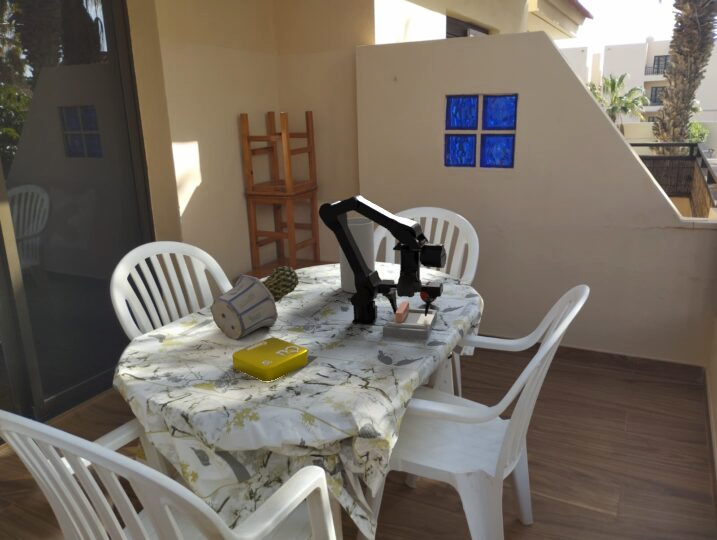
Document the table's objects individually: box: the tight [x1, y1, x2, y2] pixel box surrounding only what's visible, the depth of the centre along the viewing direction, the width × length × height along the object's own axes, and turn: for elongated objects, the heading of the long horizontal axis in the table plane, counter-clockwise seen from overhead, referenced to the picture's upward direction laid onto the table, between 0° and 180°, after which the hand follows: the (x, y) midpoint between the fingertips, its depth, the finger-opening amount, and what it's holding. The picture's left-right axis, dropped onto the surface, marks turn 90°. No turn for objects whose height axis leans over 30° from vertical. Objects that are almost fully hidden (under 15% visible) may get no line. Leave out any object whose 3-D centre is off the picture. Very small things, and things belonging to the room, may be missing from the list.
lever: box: [396, 300, 410, 322], centre depth 172 cm, size 2×10×3 cm, turn 163°
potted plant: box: [210, 265, 300, 340], centre depth 175 cm, size 18×18×30 cm
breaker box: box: [382, 306, 438, 340], centre depth 172 cm, size 13×17×3 cm
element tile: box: [231, 336, 309, 381], centre depth 150 cm, size 15×15×5 cm
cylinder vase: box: [338, 217, 376, 294], centre depth 205 cm, size 12×12×25 cm
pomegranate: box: [419, 280, 437, 304], centre depth 189 cm, size 6×6×8 cm
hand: (410, 315), depth 171 cm, fingers open, 9 cm apart
